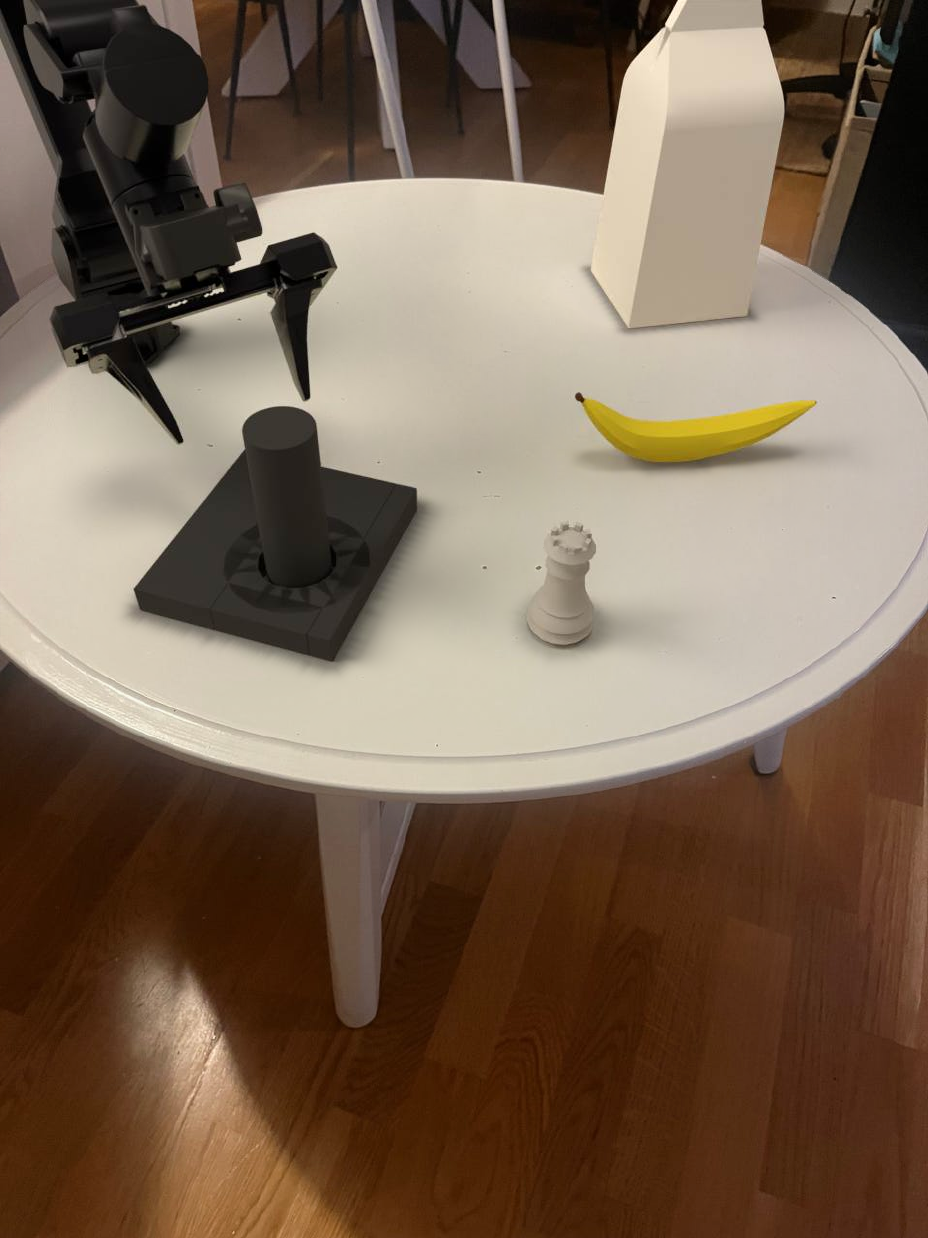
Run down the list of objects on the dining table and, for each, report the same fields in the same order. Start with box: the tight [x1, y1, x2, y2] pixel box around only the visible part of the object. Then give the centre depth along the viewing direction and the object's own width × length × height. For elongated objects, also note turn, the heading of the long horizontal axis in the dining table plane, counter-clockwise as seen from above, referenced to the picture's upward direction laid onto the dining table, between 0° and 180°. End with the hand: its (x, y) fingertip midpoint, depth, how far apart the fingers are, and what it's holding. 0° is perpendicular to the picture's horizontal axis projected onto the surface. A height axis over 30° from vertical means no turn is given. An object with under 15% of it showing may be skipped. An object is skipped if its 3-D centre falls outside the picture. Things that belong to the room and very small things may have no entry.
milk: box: [590, 0, 785, 329], centre depth 87 cm, size 12×12×26 cm
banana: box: [574, 391, 817, 463], centre depth 76 cm, size 3×19×6 cm, turn 95°
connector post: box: [241, 405, 333, 588], centre depth 63 cm, size 4×4×13 cm
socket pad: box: [133, 449, 418, 662], centre depth 68 cm, size 14×16×2 cm
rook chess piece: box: [526, 520, 597, 646], centre depth 62 cm, size 4×4×8 cm
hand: (245, 421), depth 67 cm, fingers open, 9 cm apart
